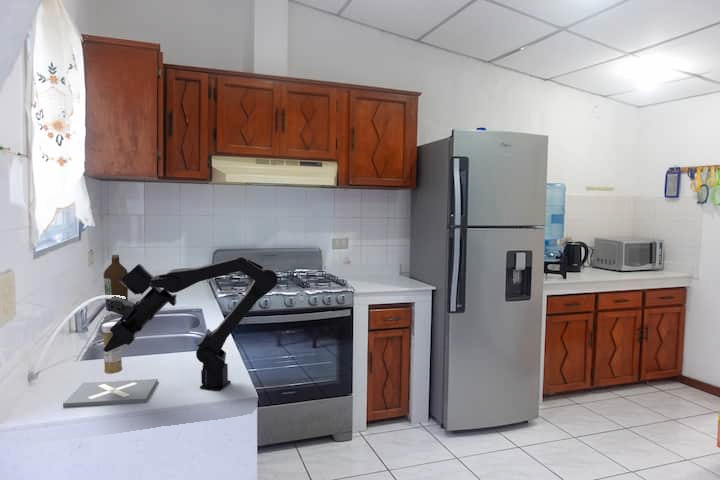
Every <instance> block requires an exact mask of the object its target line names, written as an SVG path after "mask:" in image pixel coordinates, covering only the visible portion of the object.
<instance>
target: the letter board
mask: <svg viewBox="0 0 720 480" xmlns="http://www.w3.org/2000/svg"><path fill="white" fill-rule="evenodd" d="M158 380H159V379H158V378H151V379H147V378H146V379H133V380H131V379H130V380H128V379H127V380H112V381H96V382H95V381H93V382H82V383H81V384H80V386H78V388H77V389H75V391H73V392H72V394H70V396H69V397H67V399H65V401H63V403H62V407H63V408H71V407H72V408H74V407H87V406H88V407H89V406H104V405H105V406H106V405H107V406H108V405H120V404H122V405H123V404H136V403H147V401H148V400H149V398H150V396H151V394H152V393H153V391H154V389H155V387H156V386H157V384H158V382H159V381H158Z"/></svg>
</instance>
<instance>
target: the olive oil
mask: <svg viewBox="0 0 720 480" xmlns="http://www.w3.org/2000/svg"><path fill="white" fill-rule="evenodd" d="M128 272H129V271H128V270H127V269H126V267H125V266H124V265H122V264H121V262H120V255H119V254H112V255H111V263H110V265H109V266H107V268H106V269H105V270H104V273H103V286H104V295H120V296H125V297H126V299H125V300H127V301H129V299H128V298H129V297H128V296H129V292H128V291H129V289H128V288H126V287H125V286H124V285H123V284H122V283H121V282H119V281H120V280H121V279H122V278H123V277H124V276H125V275H126V274H127V273H128ZM110 300H111V299H106V298H105V307H106V308H107V306H108V303H109V302H110Z"/></svg>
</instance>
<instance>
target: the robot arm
mask: <svg viewBox="0 0 720 480" xmlns="http://www.w3.org/2000/svg"><path fill="white" fill-rule="evenodd" d="M127 272H128V273H127V274H126V275H125V276H124V277H123V278H122V279H121V280H120V281H119V282H121V283H122V284H123V285H124V286H125V287H126V288H128V291H130V292H131V293H132V294H134V295H135V296H136V295H138V296H139V295H141V296H142V295H143V294H145V292H146V291H147V292H146V294H145V295H144V296H142V297H141V299H139V300H137V301H136V302H131V301H130V300H128V301H127V300H125V299H122V298H119V297H116V296H114V297H112V298H111V300H110V302H109V303H108V306H107V308H106V309H105V310H106V311H107V312H109V313H111V312H112V313H115V314H118V315H121V317H120V319H119V320H118V321H116V322H117V323H116V324H115V325H114V326H113V327H112V328H111V329H110V331H111V332H112V333H113V336H112V337H111V339H110V340H109V342H108V343H107V345H106V346H105V348H104V347H103V352H104V351H105V352H108V351H110V350H113V349H115V348H117V347H120V346H121V347H122V346H125V345H127V346H129V345H131V344H132V343H133V342H134V341H135V339H136V338H137V335H138V333H139V332H141V331H142V329H143V328H144V327H146V325H148V323H149V322H150V321H152V320H153V318H154V317H155V316H156V315H158V313H159V312H160V311H161V310H162V309H163V308H164V307H165V306H166V305H167V304H168V303H169V304H170V305H171V306H172V307H174V306H176V304H177V296H178V295H177V294H175V293H178V292H181V291H183V290H185V289H188V288H189V287H191V286H193V285H195V284H198V283H200V282H204V281H208V280H210V279H215V278H218V277H223V276H225V275H230V274H234V273H237V272H240V273H243V274H244V275H245V276H247V277H248V278H250V279H252V282H251V284H250V286H249V288H248V290H247V291H246V292H245V294H244V295H243V296H242V297H241V299H239V301H238V302H237V303H236V305H234V307H233V308H232V309H231V310H230V312H229V313H228V314H227V315H226V316H225V318H224V319H223V320H222V321H221V323H220V324H219V325H218V327H216V328H215V329H214V330H212V331H211V330H210V328H208V329H207V330H206V331H205V332H204V335H203V336H202V337H200V338H199V339H198V343H197V349H196V352H195V356H196V359H197V361H199V363H202V369H201V372H200V373H201V375H200V377H201V384H200V386H199V389H202V390H203V389H204V390H212V391H221V390H223V389H224V388H225V387H227V386H228V385H229V384H230V383H231V380H230V379H229V375H228V374H229V368H228V367H229V365H228V363H226V358H227V352H226V351H225V350H224V349H223V347H224V345H225V344H226V340H227V339H228V337H230V335H231V334H232V332H233V331H234V330H235V329H236V327H237V326H239V324H240V323H241V321H242V320H244V318H245V317H246V316H247V314H248V313H249V312H250V311H251V309H252V308H253V307H254V306H255V304H256V303H257V302H258V301H259V300H261V298H263V297H264V296H265V295H268V293H270V291H272V290H273V289H274V288H275V287H276V286H277V284H278V281H279V278H278V274H277V272H276V271H275V269H274V268H272V267H270V266H262V265H261V264H259V263H256V262H254V261H252V260H250V259H249V258H247V257H246V256H244V255H238V256H236V257H235V258H234V257H233V258H230V259H225V260H222V261H219V262H214V263H211V264H206V265H202V266H199V267H198V266H197V267H183V268H174V269H170V270H169V271H168V272H167V273H164V274H158V275H157V274H156V275H152V274H151V273H150V272H149V271H147V269H146V268H145V267H144V266H143V265H142V264H141V263H138V264H137V265H136V266H134V268H132V269H131V270H130V271H127ZM149 288H151V289H150V290H148V289H149Z"/></svg>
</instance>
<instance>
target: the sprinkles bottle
mask: <svg viewBox="0 0 720 480" xmlns="http://www.w3.org/2000/svg"><path fill="white" fill-rule="evenodd" d="M117 322H118V321H108V322H105V323H103V324H102V325H101V332H102V335H103V337H102V338H103V349H104V348H105V346H106V345H107V343H108V342H109V340H110V339H111V337H112V336H113V333H112V332H111V331H110V329H111V328H112V327H113V326H114V325H115V324H116V323H117ZM122 354H123V353H122V346H120V347H117V348H115V349H113V350H110V351H108V352H105V351H104V350H103V361H104V362H103V364H104V371H103V372H104V373H105V374H107V375H113V374H116V373H120V372H122V370H123V365H122V364H123V363H122V361H123V360H122V359H123V358H122V357H123V355H122Z"/></svg>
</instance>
